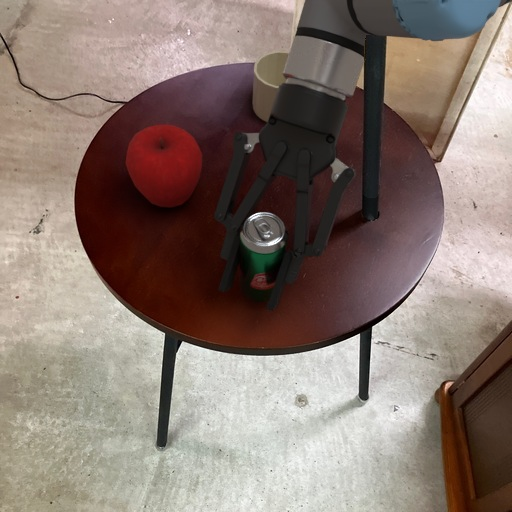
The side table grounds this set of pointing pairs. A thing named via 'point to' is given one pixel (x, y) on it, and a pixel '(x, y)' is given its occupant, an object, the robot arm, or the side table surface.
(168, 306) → the side table surface
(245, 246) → the soda can
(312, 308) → the side table surface
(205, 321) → the side table surface
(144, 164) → the apple
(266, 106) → the cup
